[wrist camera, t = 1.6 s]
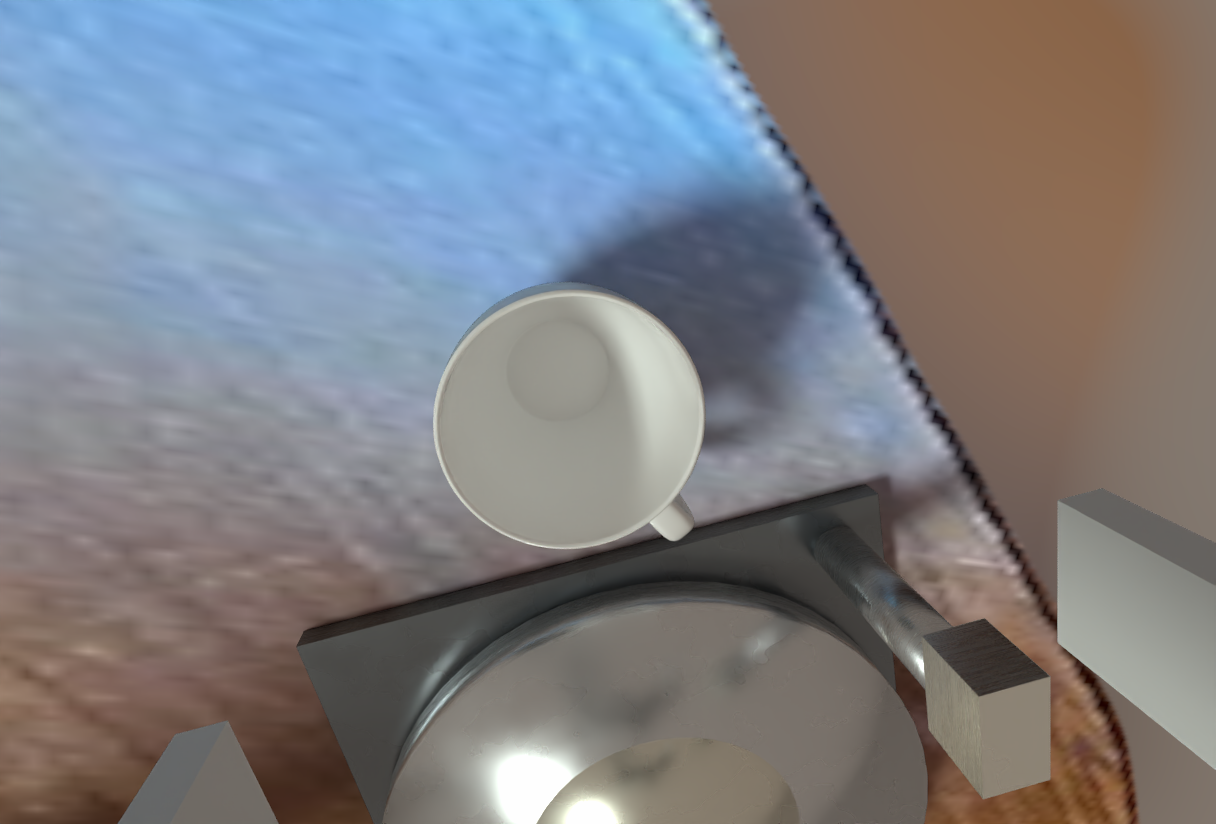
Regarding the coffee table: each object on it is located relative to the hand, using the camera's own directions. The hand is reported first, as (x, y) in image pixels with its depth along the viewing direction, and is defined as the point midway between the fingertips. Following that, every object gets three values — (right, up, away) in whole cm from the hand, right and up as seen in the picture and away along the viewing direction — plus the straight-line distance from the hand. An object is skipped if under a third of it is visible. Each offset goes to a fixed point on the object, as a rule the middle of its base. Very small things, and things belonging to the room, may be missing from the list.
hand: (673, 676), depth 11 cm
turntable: (+1, -14, +20) cm, 25 cm away
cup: (-2, +5, +15) cm, 16 cm away
